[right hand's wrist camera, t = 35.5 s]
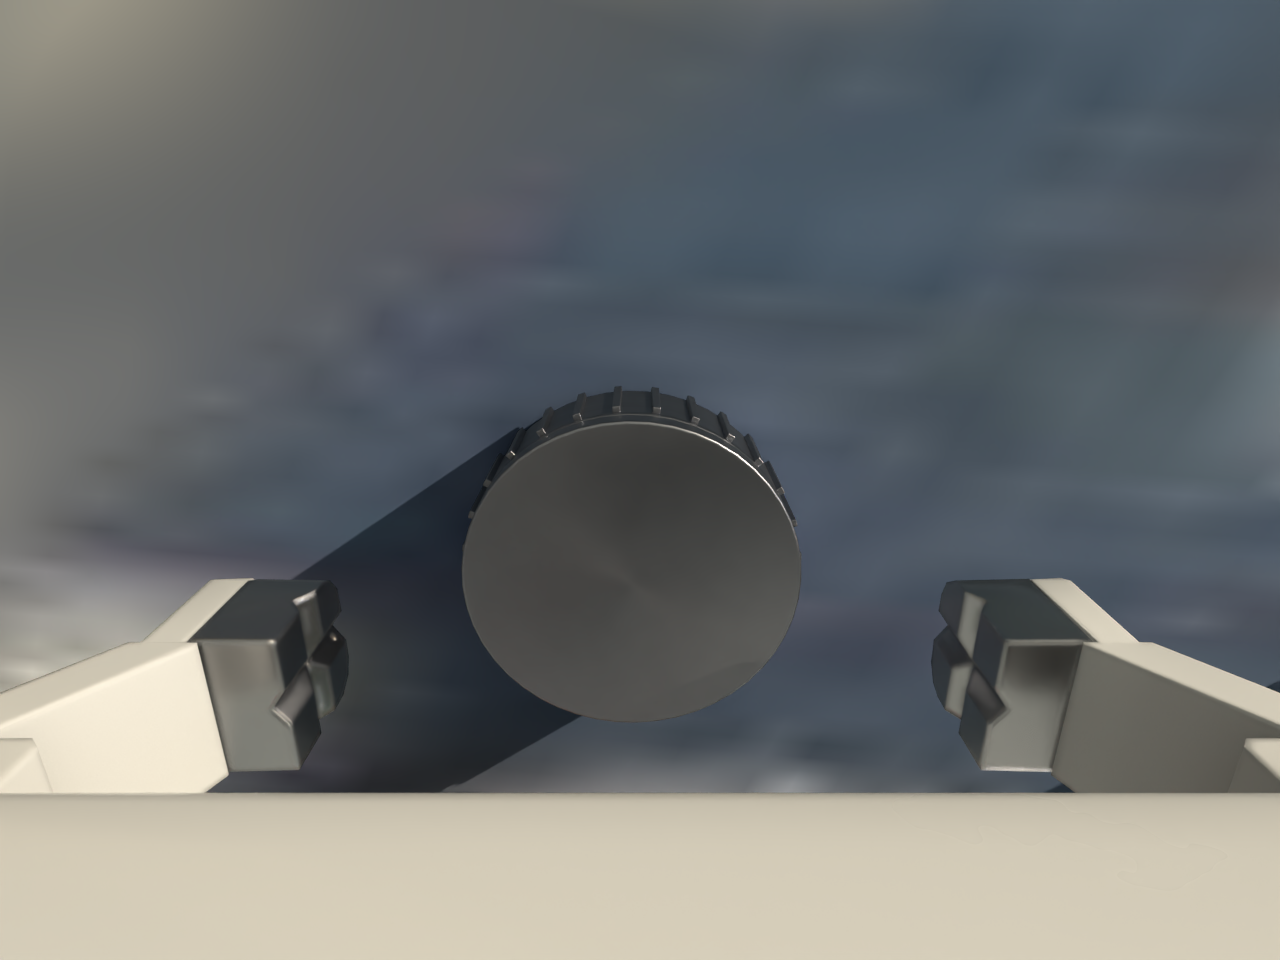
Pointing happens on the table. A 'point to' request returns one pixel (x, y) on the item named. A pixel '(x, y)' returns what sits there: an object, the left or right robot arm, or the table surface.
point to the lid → (631, 558)
